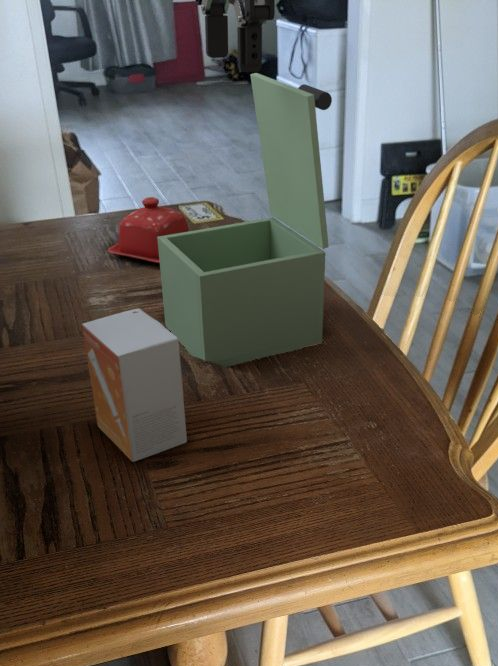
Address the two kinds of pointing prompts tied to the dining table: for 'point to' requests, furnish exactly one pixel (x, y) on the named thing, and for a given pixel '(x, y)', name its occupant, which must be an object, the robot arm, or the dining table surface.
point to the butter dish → (147, 230)
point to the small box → (136, 382)
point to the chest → (242, 290)
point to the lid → (292, 154)
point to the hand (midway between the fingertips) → (232, 64)
